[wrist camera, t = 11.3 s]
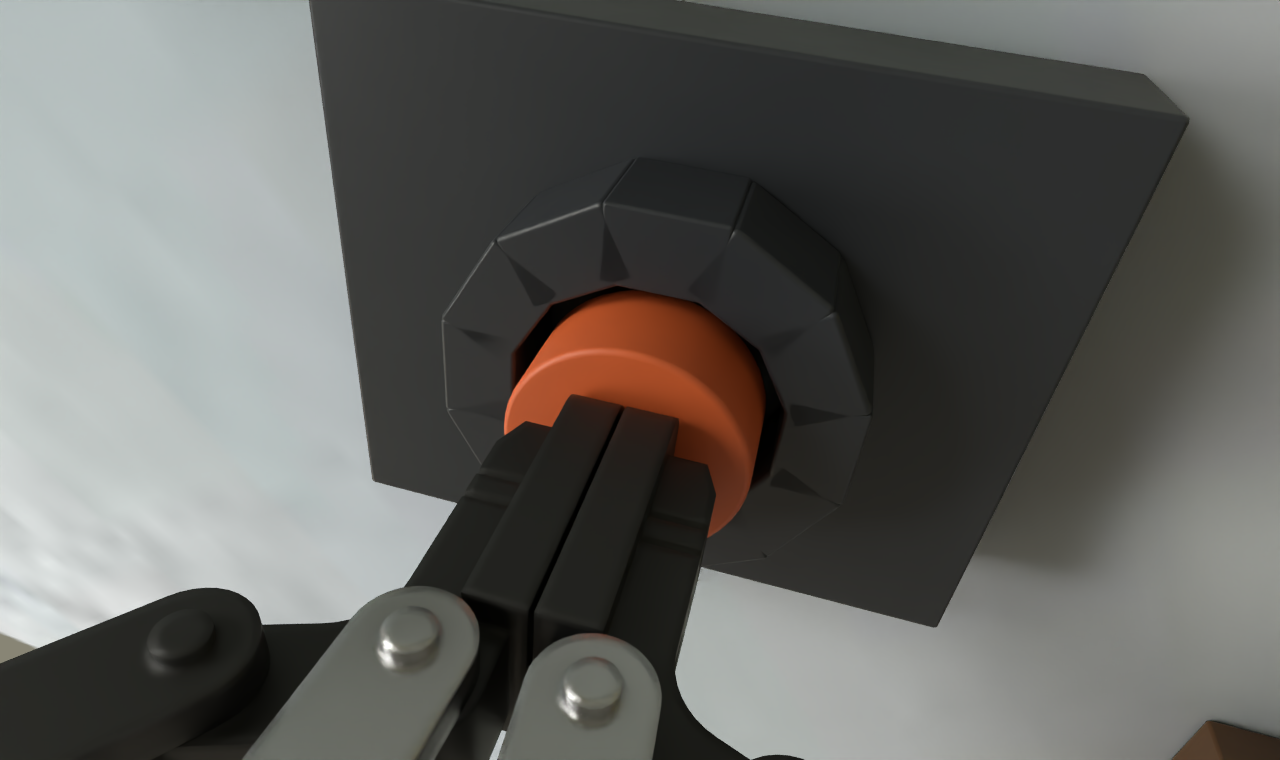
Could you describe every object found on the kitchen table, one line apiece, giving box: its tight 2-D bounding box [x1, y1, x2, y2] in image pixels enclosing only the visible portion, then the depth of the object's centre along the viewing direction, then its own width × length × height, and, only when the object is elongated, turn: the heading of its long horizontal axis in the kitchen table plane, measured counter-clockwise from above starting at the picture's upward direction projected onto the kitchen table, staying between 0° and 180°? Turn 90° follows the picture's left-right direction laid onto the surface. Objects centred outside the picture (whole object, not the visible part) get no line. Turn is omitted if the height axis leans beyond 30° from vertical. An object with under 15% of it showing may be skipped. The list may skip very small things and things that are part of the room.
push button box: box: [309, 0, 1189, 627], centre depth 14 cm, size 12×10×4 cm
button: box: [504, 290, 766, 538], centre depth 12 cm, size 4×4×2 cm
